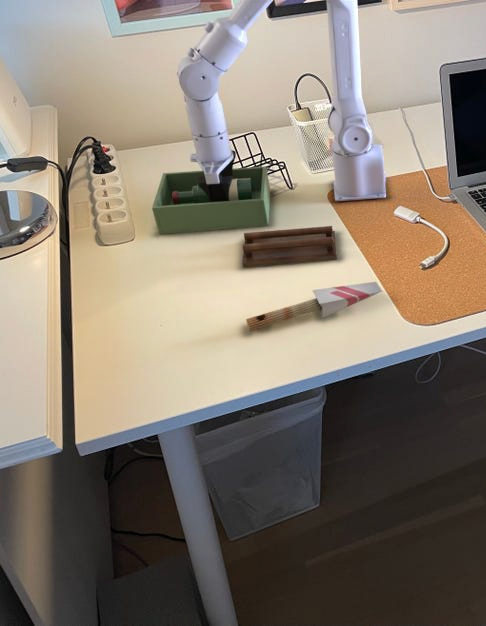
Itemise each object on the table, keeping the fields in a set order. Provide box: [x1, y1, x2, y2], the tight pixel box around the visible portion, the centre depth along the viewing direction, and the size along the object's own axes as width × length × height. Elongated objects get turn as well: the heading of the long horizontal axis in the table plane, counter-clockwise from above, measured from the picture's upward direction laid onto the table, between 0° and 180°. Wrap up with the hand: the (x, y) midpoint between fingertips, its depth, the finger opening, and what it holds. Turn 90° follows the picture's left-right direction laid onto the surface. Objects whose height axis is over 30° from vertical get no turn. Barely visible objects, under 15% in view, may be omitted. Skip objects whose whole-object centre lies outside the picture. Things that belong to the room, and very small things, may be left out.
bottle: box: [172, 178, 255, 205], centre depth 129 cm, size 14×5×5 cm, turn 101°
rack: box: [242, 225, 338, 268], centre depth 120 cm, size 15×8×3 cm, turn 102°
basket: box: [151, 166, 271, 235], centre depth 129 cm, size 18×13×5 cm
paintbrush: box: [245, 281, 383, 332], centre depth 107 cm, size 4×3×20 cm
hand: (224, 202), depth 130 cm, fingers open, 7 cm apart
